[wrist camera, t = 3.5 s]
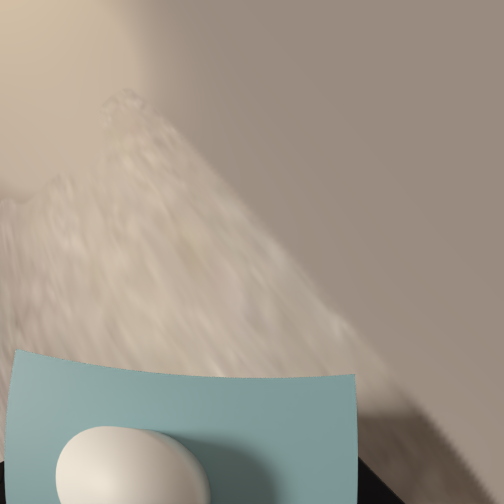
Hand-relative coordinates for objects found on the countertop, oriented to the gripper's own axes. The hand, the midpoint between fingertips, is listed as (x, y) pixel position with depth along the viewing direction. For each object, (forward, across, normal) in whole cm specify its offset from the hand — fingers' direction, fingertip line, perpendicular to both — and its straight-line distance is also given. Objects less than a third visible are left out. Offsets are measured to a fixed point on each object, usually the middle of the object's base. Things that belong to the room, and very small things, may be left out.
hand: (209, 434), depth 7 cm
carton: (+4, 0, +6) cm, 7 cm away
